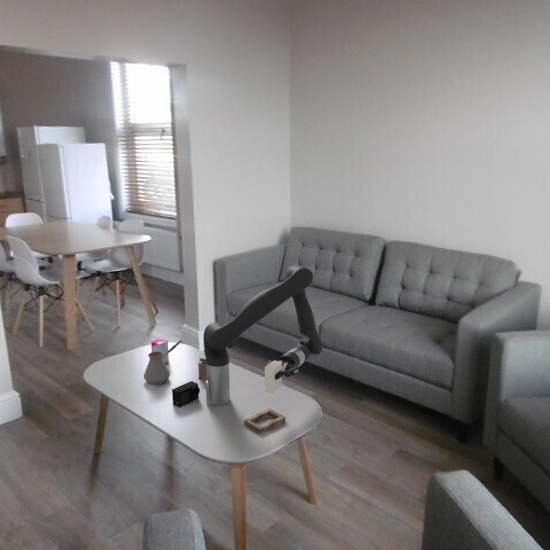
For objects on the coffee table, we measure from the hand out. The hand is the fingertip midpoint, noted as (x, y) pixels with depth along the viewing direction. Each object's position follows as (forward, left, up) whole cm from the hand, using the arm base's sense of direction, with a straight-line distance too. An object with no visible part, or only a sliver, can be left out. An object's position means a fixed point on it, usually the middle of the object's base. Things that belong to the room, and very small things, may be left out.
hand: (271, 376), depth 199 cm
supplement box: (-55, +49, -18) cm, 76 cm away
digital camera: (-35, +12, -18) cm, 41 cm away
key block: (+1, +2, -6) cm, 6 cm away
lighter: (-30, +33, -18) cm, 48 cm away
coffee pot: (-49, +34, -18) cm, 63 cm away
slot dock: (-2, -4, -18) cm, 18 cm away
